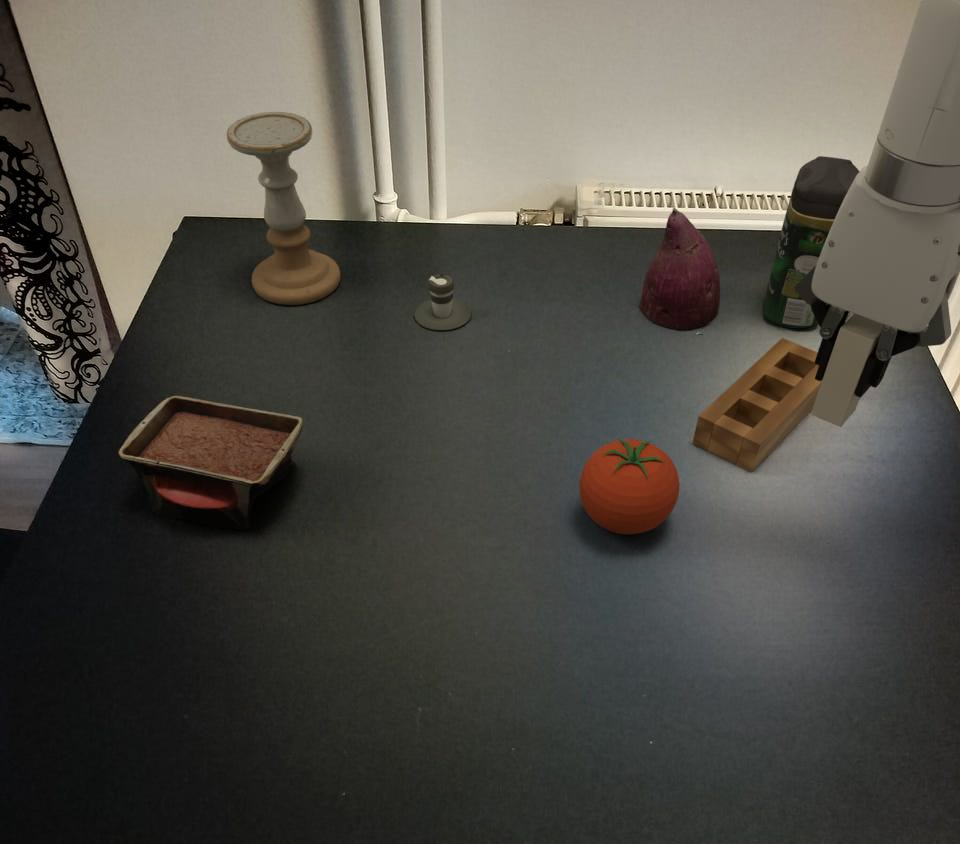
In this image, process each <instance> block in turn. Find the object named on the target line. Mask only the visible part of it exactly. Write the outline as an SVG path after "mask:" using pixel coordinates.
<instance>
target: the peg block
mask: <svg viewBox="0 0 960 844" xmlns="http://www.w3.org/2000/svg"><path fill="white" fill-rule="evenodd" d="M817 353H818V351H816V350H813V349H810V348H808V347H807V346H806V347H805V346H803V345H801V344H798V343H796V342H793V341H792V340H789V339H787V338H783V337H781V338H780V339H779V340H778V341H777V342H776V343H775V344H774V345H773V346H772V347H771V348H769V350H767V351H766V352H765V353H764V354H763V355H761V357H760V358H759V359H757V360H756V361H755V363H753V365H751V366H750V367H749V368H748V369H747V370H746V371H745V372H743V374H742V375H741V376H739V378H738V379H736V380H735V381H734V382H733V383H732V384H731V385H730V386H729V387H727V389H726V390H724V392H723V393H721V394H720V395H719V396H718V397H717V398H716V399H715V400H714V401H713V402H712V403H711V404H710V405H709V406H707V408H705V409H704V410H703V411H701V413H700V414H699V415H698V417H697V421H696V426H695V430H694V435H693V438H692V439H693V440H692V445H695V446H697V447H699V448H700V449H703V450H705V451H708V452H709V453H711V454H713V455H715V456H717V457H719V458H722V459H724V460H726V461H728V462H729V463H732V464H734V465H736V466H738V467H740V468H743V469H744V470H746V471H749V472H750V473H752V472H754V471H755V470H756V469H757V467H759V465H760V464H762V462H764V460H765V459H766V458H768V456H769V455H770V454H771V453H772V452H773V451H774V450H775V449H776V448H777V447H778V446H779V445H780V443H781V442H782V441H784V439H785V438H786V437H788V435H789V434H791V432H792V431H793V430H794V429H795V428H796V427H797V426H798V425H799V424H800V422H802V421H803V420H804V418H806V416H808V414H809V413H811V412H812V409H813V406H814V403H815V400H816V397H817V394H818V391H819V389H820V386H821V383H822V380H821V381H818V380H815V376H816V373H817V370H818V367H819V365H817V364H815V359H816V356H817Z"/></svg>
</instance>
